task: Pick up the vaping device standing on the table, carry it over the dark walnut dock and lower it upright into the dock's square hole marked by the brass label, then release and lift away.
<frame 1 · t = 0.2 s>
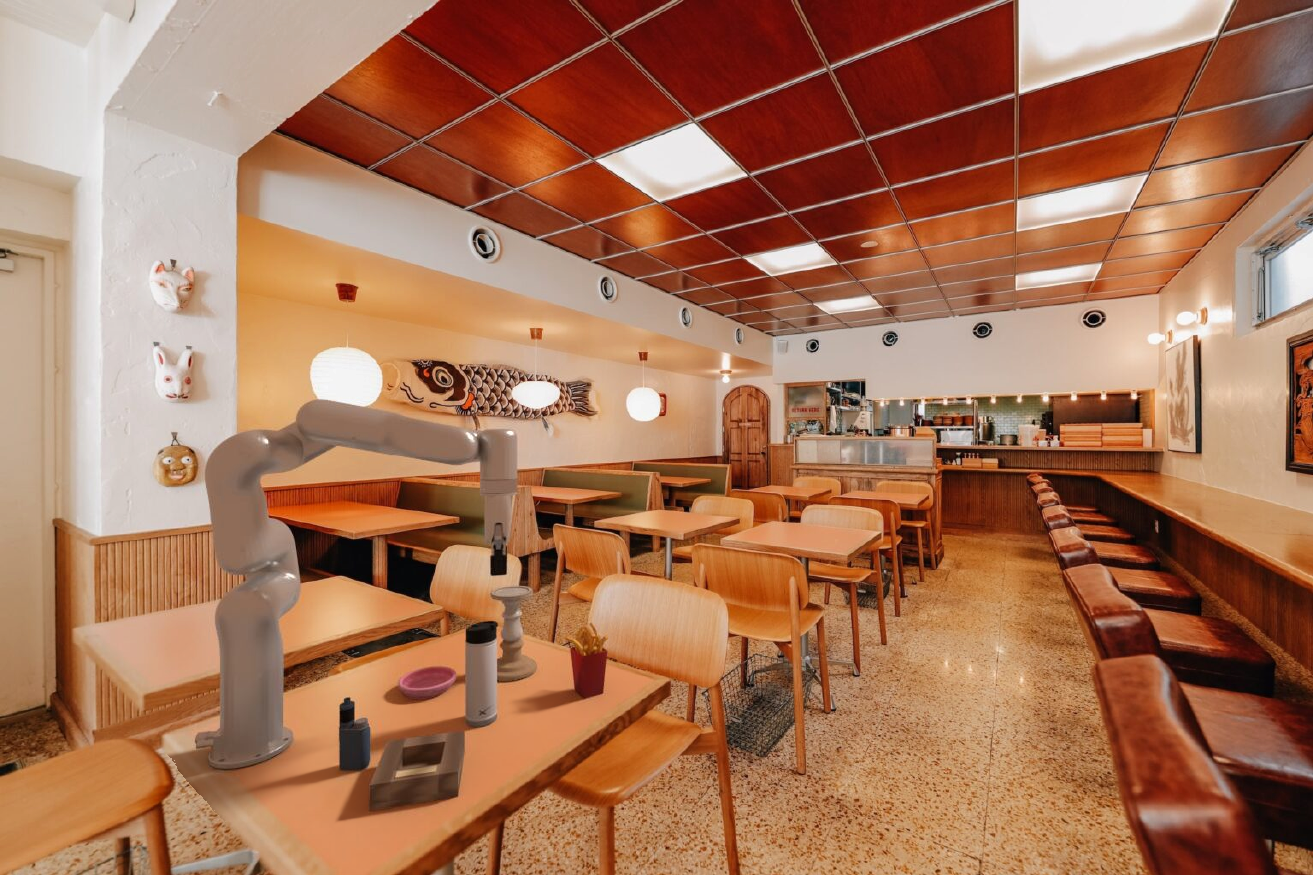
hand: (499, 569, 112), 31 cm above the table, tool pointing down, fingers open, 9 cm apart
travel mug: (482, 720, 111), on the table
vaping device: (354, 767, 95), on the table
walnut dock: (421, 778, 92), on the table
saucer: (427, 691, 125), on the table
candle holder: (511, 671, 135), on the table
french fries: (583, 692, 124), on the table
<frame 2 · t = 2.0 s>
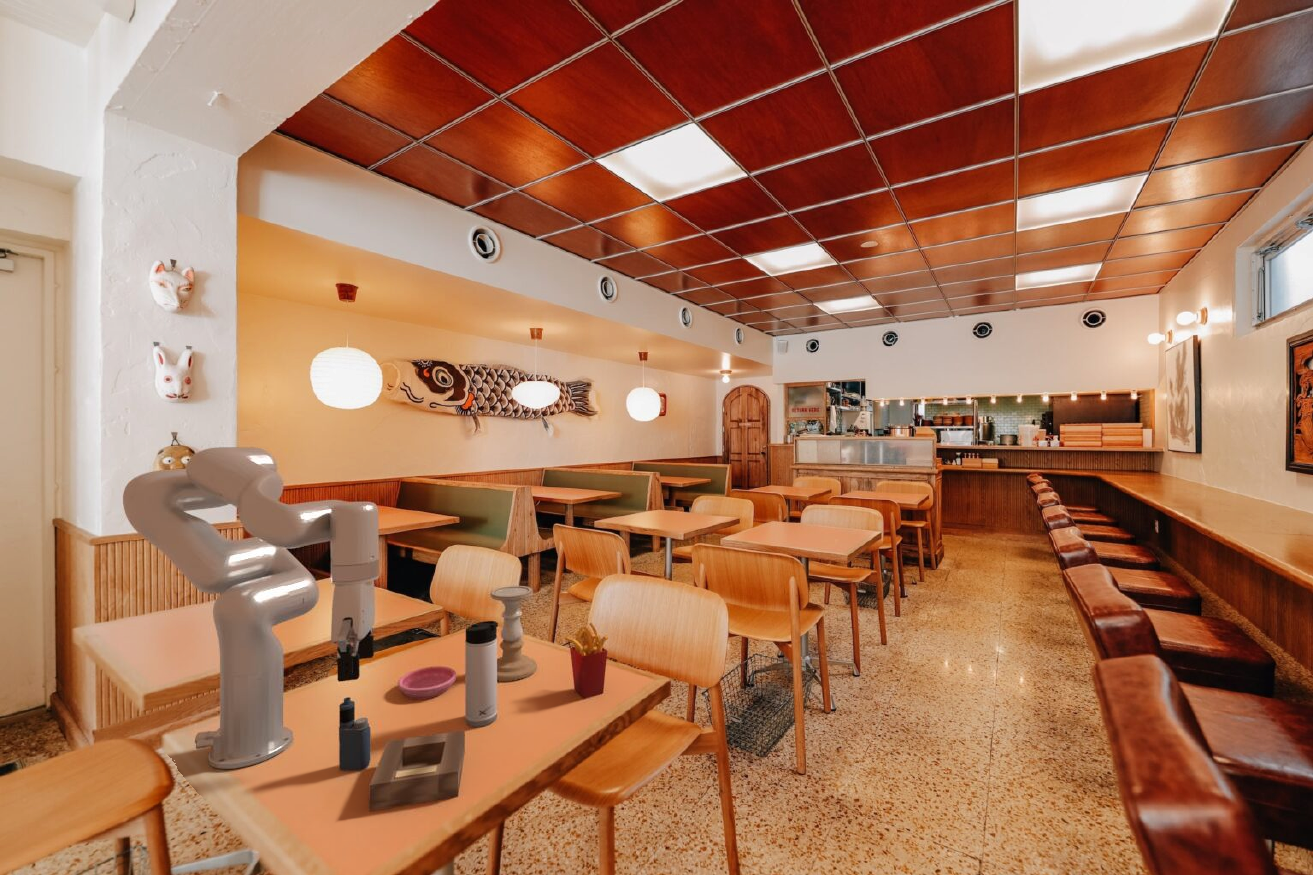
hand: (356, 668, 95), 17 cm above the table, tool pointing down, fingers open, 9 cm apart
nothing on the table moved.
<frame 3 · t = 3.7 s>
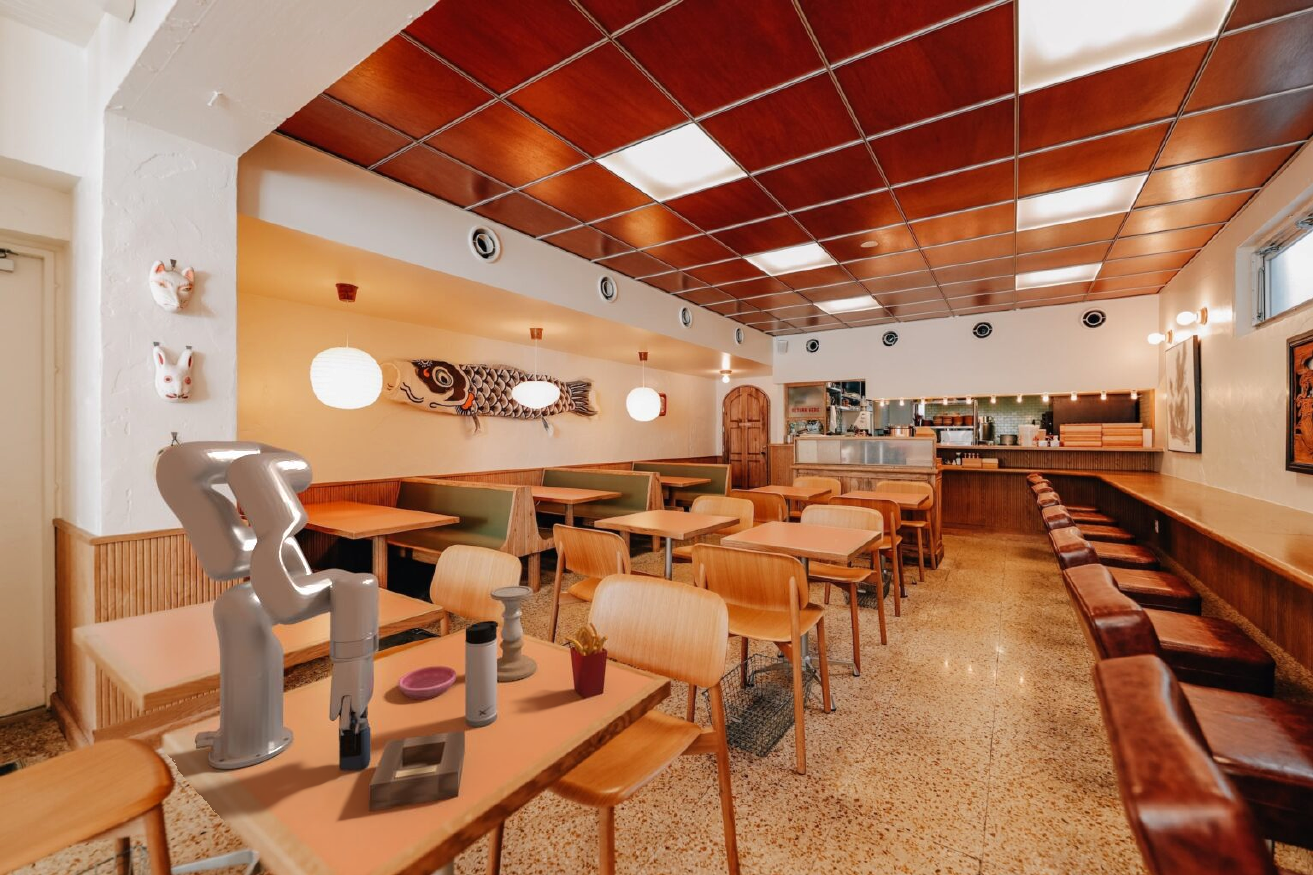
hand: (354, 748, 95), 3 cm above the table, tool pointing down, fingers closed on vaping device, 3 cm apart
vaping device: (354, 767, 95), on the table, touching gripper
everything else where it was.
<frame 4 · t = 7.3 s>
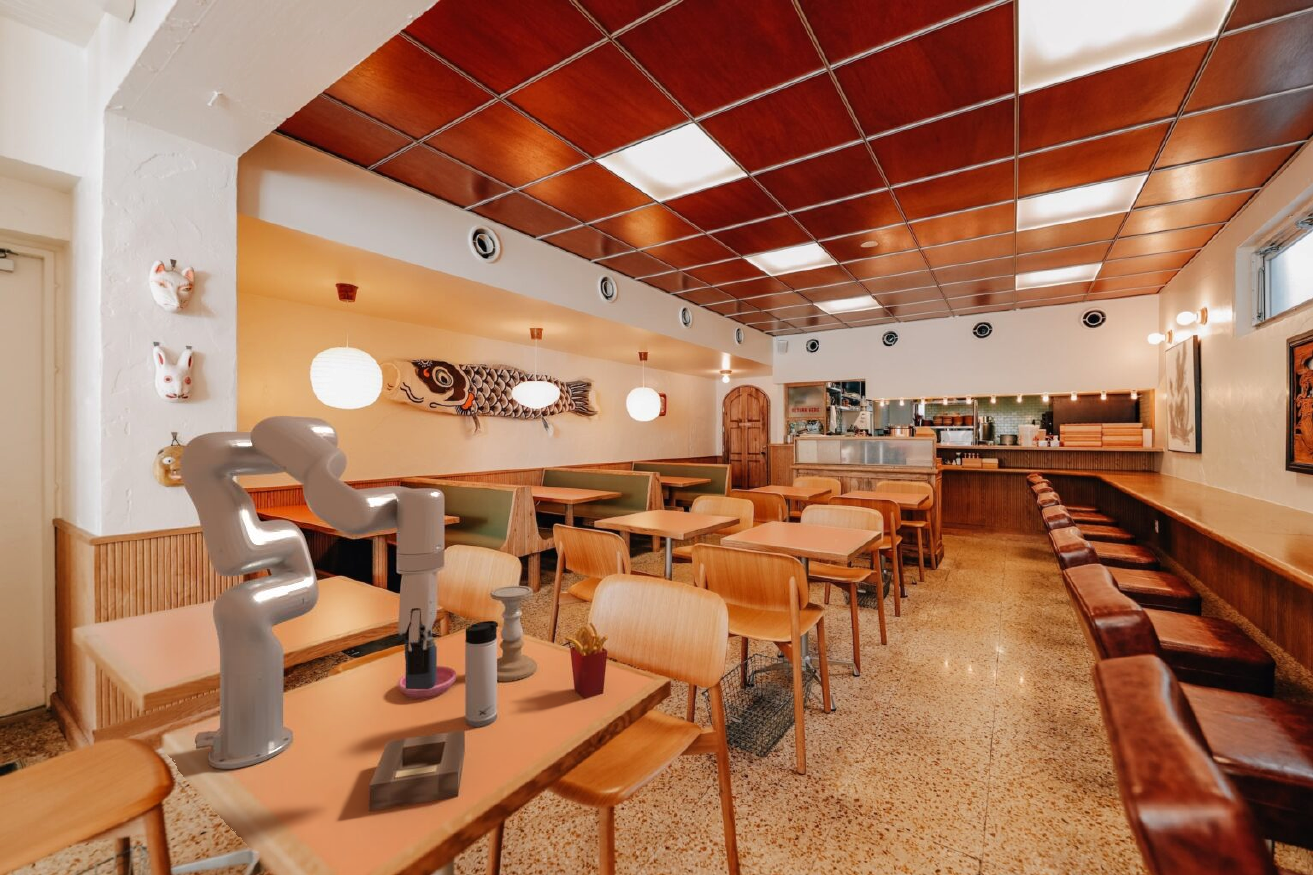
hand: (420, 667, 92), 19 cm above the table, tool pointing down, fingers closed on vaping device, 3 cm apart
vaping device: (420, 687, 92), point 15 cm above the table, touching gripper
everything else where it was.
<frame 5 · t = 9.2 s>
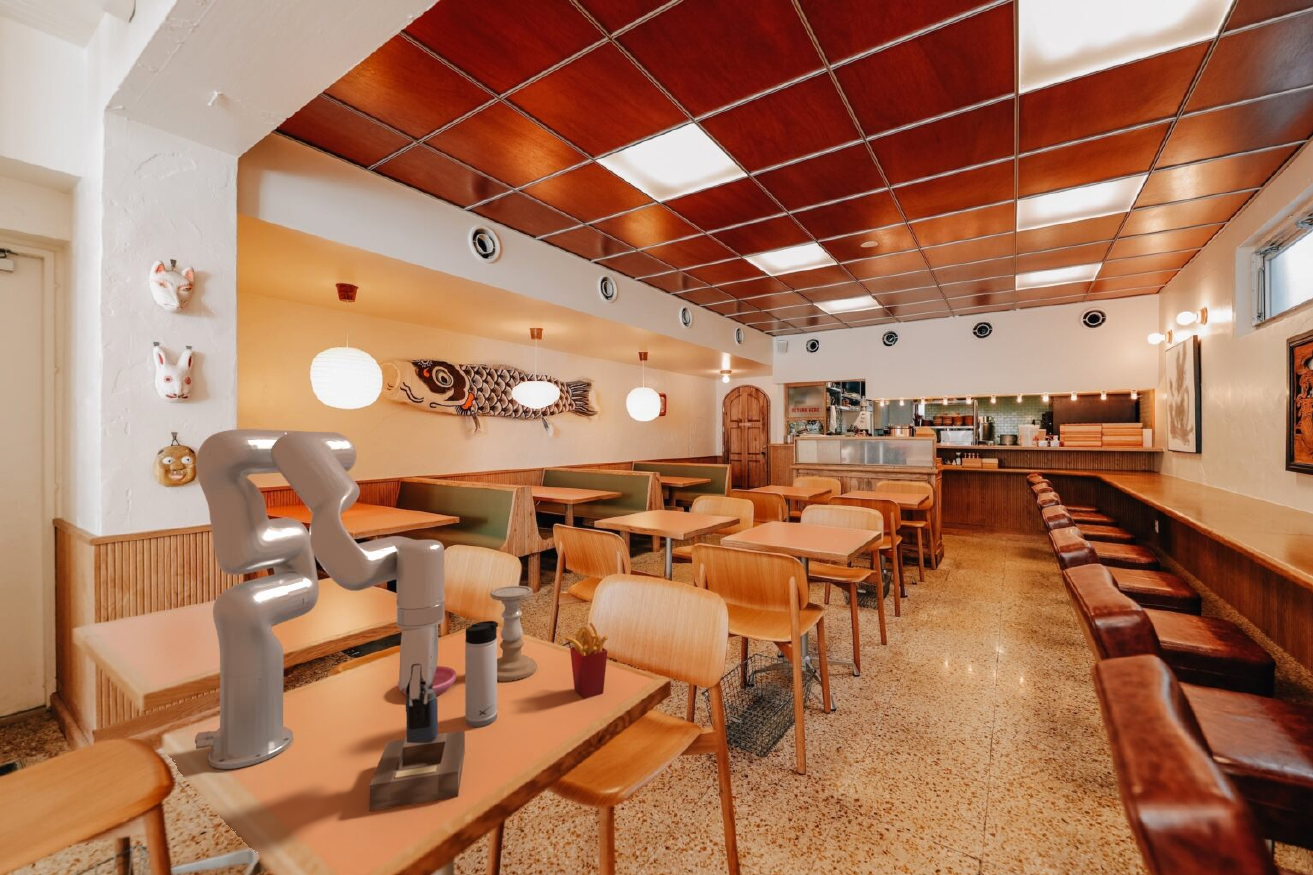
hand: (421, 720, 92), 10 cm above the table, tool pointing down, fingers closed on vaping device, 3 cm apart
vaping device: (421, 740, 92), point 7 cm above the table, touching gripper
everything else where it was.
when the fingers open (6 cm above the table, at t = 10.6 s): vaping device drops 1 cm, resting on walnut dock.
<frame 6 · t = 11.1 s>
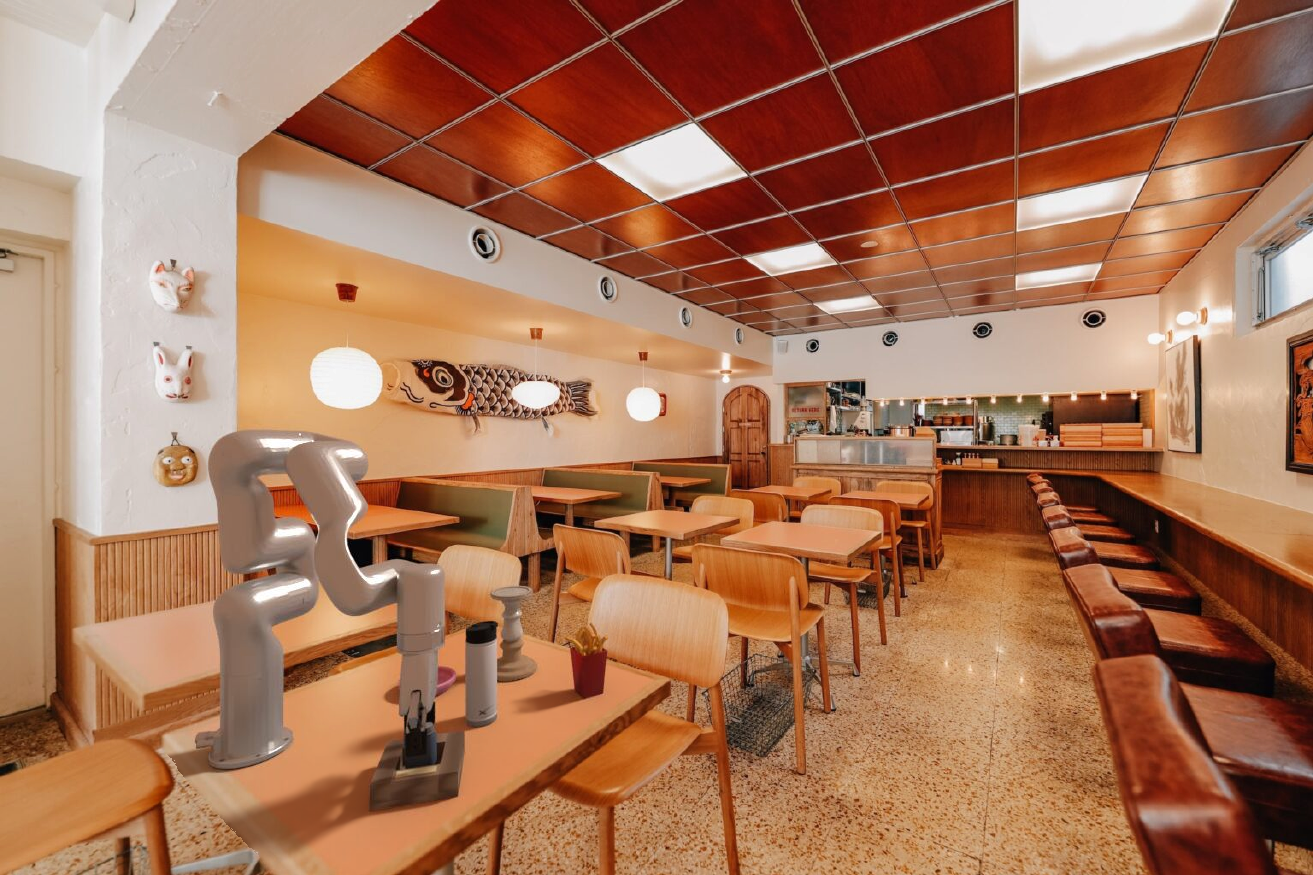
hand: (421, 739, 92), 7 cm above the table, tool pointing down, fingers open, 9 cm apart
vaping device: (420, 773, 92), point 1 cm above the table, touching walnut dock
everything else where it was.
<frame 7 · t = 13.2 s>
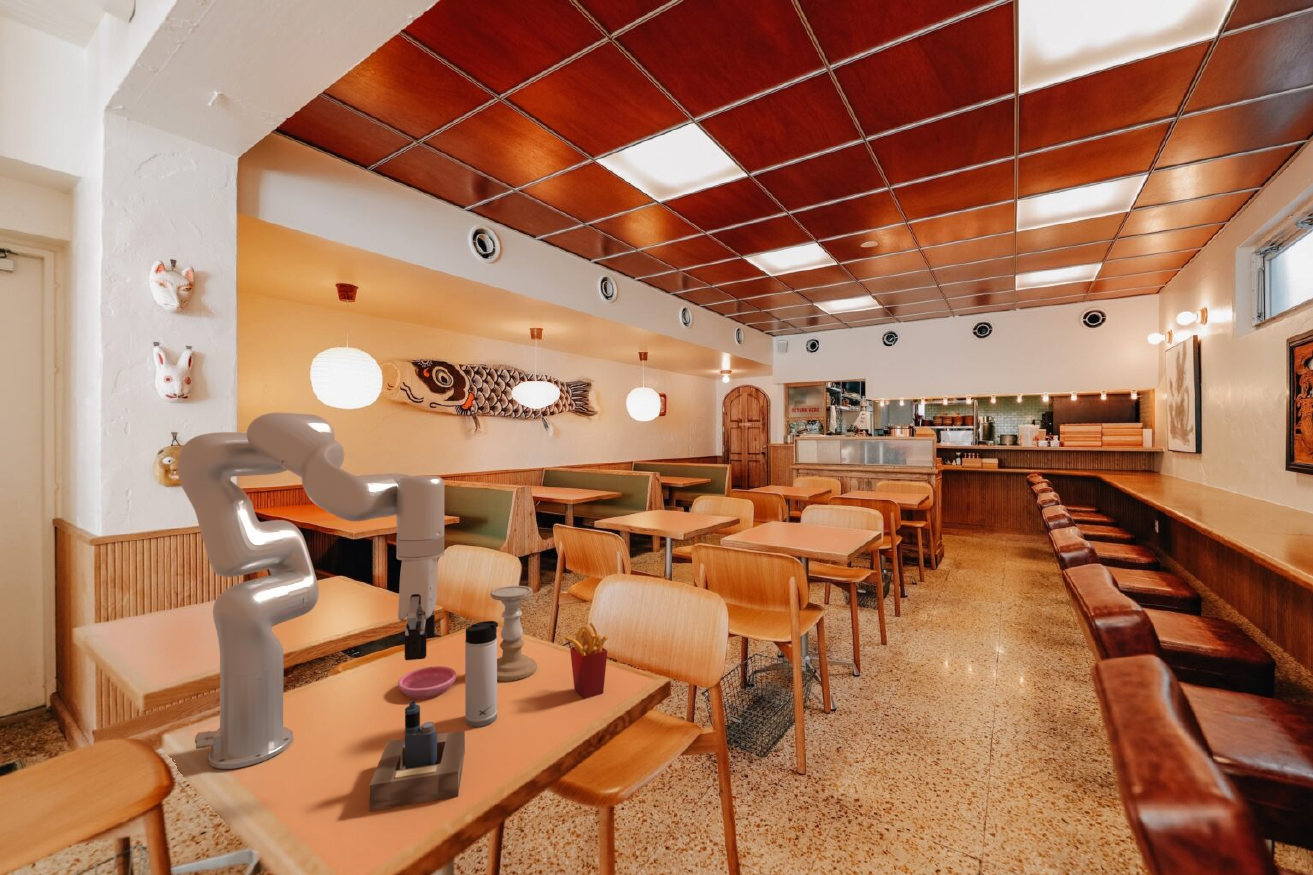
hand: (420, 647, 92), 22 cm above the table, tool pointing down, fingers open, 9 cm apart
nothing on the table moved.
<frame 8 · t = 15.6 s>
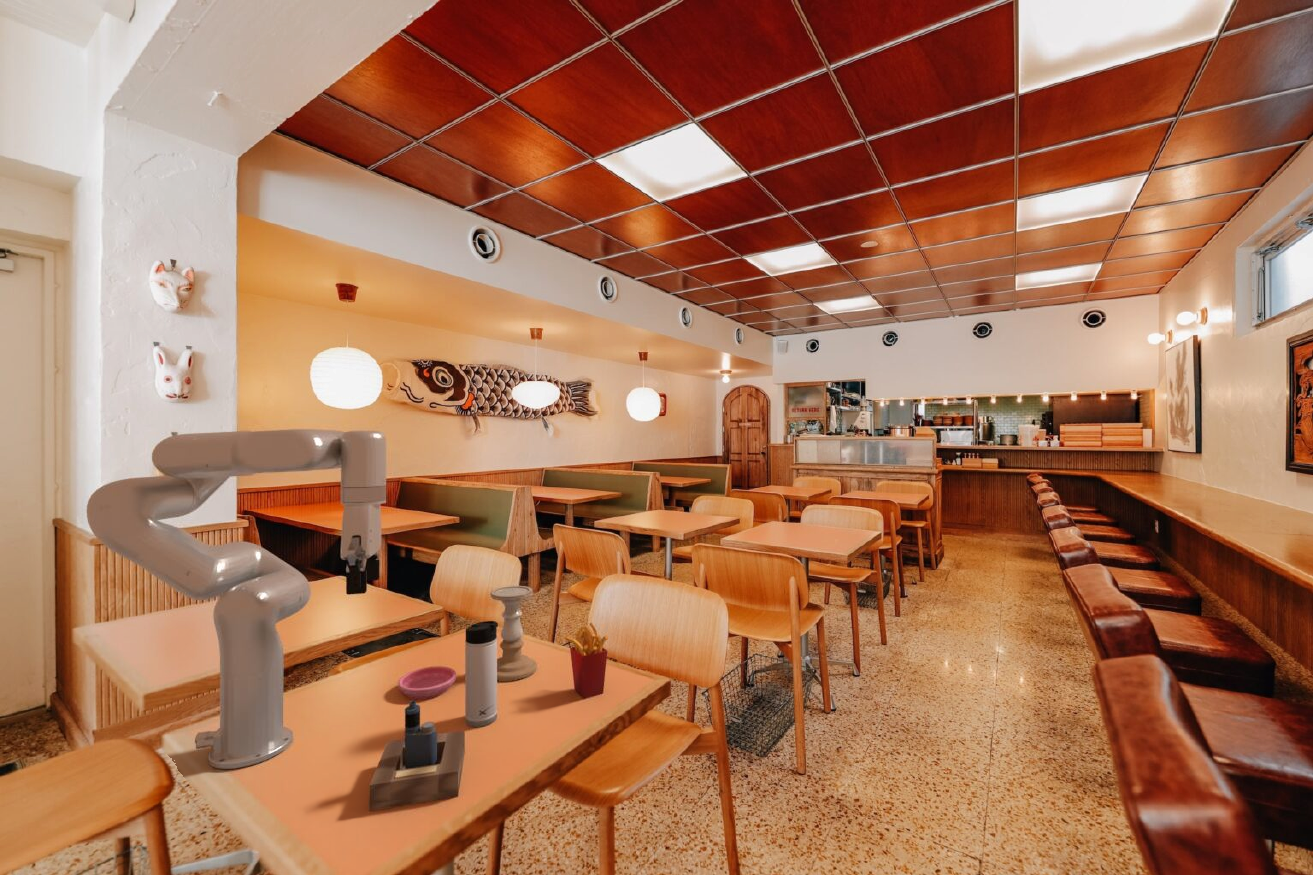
hand: (363, 586, 101), 30 cm above the table, tool pointing down, fingers open, 9 cm apart
nothing on the table moved.
at the end: vaping device 0.1 cm off-centre on the walnut dock, point 0.8 cm above the walnut dock's base; vaping device tilted 0°; the gripper is holding nothing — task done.
